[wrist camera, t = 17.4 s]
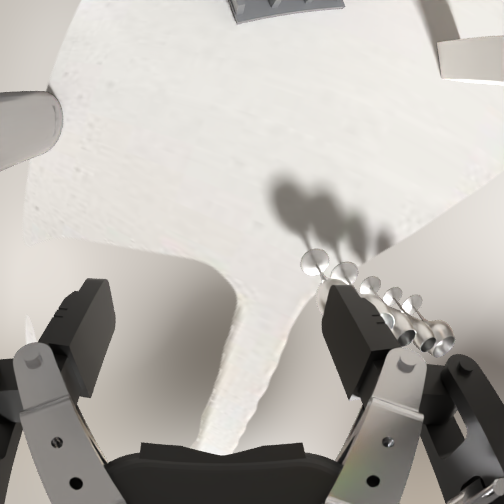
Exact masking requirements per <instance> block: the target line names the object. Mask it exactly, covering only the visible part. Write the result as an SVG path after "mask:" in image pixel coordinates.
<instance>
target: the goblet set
mask: <svg viewBox="0 0 504 504" xmlns="http://www.w3.org/2000/svg"><path fill="white" fill-rule="evenodd" d="M328 264H329V256H328V254H327V253H326V252H325V251H324V250H321V249H312V250H310V251H308V252H307V253H305V254H304V256H303V257H302V259H301V269H302V270H303V272H305V273H306V274H308V275H318V274H320V277H321V284H320V285H319V287H318V289H317V292H316V302H317V306H318V309H319V311H320V313H321V314H322V316H323V314H324V310H325V305H326V301H327V297H328V293H329V289H330V287H331V286H332V285H352V284H353V282H354V281H355V280H356V279H357V276H358V268H357V266H356V265H355V264H353V263H351V262H343V263H341V264H339V265H337V266H336V267H335V268H334V269H333V271H332V273H331V277H330V278H327V277H326V276H325V275H324V274H323V271H324V270H325V269H326V268H327V266H328ZM380 285H381V282H380V279H379V278H378V277H375V276H371V277H368V278H366V279H365V280H364V281H363V282H362V283H361V285H360V293H359V292H358V291H357V290H356V289H355V290H356V291H357V293H358V294H359V296H360V297H361V298H366V299H367V300H368V301H369V302H371V303H372V304H373V305H375V307H376V308H377V310H378V311H379V313H380V314H381V315H380V316H382V317H383V319H384V320H385V324H387V325H388V327H389V328H390V330H391V331H392V333H393V334H394V336H395V337H396V339H397V341H398V342H399V344H400V345H401V347H404V346H407V345H409V344H410V343H411V342H413V344H414V345H415V346H416V347H417V348H418V349H419V350H420V351H421V352H428V353H429V354H431V355H432V356H434V357H441V356H443V355H445V354H446V353H447V352H448V351H450V350H451V348H452V347H453V345H454V343H455V336H454V333H453V331H452V328H451V327H450V325H449V324H448V323H446V322H445V321H442V320H435V321H428V320H426V319H424V317H423V316H422V315H421V314H420V313H419V312H418V309H419V308H420V306H421V304H422V297H421V296H420V295H412V296H410V297H409V298H407V299H406V300H405V302H404V303H403V305H402V306H401V305H400V304H399V303H398V301H399V300H400V298H401V296H402V290H401V289H400V288H399V287H393V288H391V289H389V290H388V291H387V292H386V293H385V295H384V297H383V300H382V299H381V298H380V297H379V296H378V295H377V293H376V292H377V291H378V290H379V288H380ZM352 286H353V285H352ZM353 287H354V286H353ZM354 288H355V287H354ZM374 294H375V295H374ZM396 303H397V304H398V306H399V307H400V309H401V310H402V312H401V311H399V310H397V309H394V308H392V307H389V305H390V306H391V305H394V304H396ZM415 312H417V313H418V315H419V316H420V318H421V319H422V320H419V319H417V318H414V317H412V316H411V314H414V313H415Z"/></svg>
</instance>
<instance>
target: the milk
mask: <svg viewBox="0 0 504 504" xmlns="http://www.w3.org/2000/svg"><path fill="white" fill-rule="evenodd" d="M437 48H438V55H439V62H440V69H441V78H442V79H446V80H454V81H461V82H467V83H482V84H494V85H504V36H488V37H476V38H466V39H458V40H450V41H443V42H437Z"/></svg>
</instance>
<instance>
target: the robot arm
mask: <svg viewBox="0 0 504 504" xmlns="http://www.w3.org/2000/svg"><path fill="white" fill-rule="evenodd" d="M62 125H63V114H62V109H61V106H60V104H59V102H58V100H57V99H56V98H55V97H54V96H53V95H52V94H50V93H48V92H45V91H22V92H3V93H0V171H3V170H5V169H7V168H9V167H12V166H14V165H16V164H18V163H21V162H24V161H26V160H29V159H31V158H34V157H36V156H39V155H42V154H44V153H46V152H47V151H49V150H50V149H51V148H52V147H53V146H54V145H55V143H56V142H57V140H58V138H59V136H60V134H61V130H62ZM380 315H381V314H380V313H379V311H378V310H377V308H376V307H375V305H373V304H372V303H371V302H369V301H368V300H367V299H366V298H361V297H360V296H359V294H358V293H357V291H356V290H355V288H354V287H353V286H352V285H332V286H331V287H330V289H329V293H328V297H327V301H326V305H325V310H324V314H323V318H322V333H323V336H324V338H325V341H326V344H327V346H328V349H329V351H330V353H331V356H332V359H333V361H334V364H335V366H336V369H337V371H338V374H339V376H340V379H341V381H342V384H343V386H344V389H345V391H346V394H347V397H348V399H349V401H352V400H358V399H361V401H362V403H363V405H362V407H361V409H360V411H359V413H358V415H357V417H356V420H355V422H354V424H353V426H352V428H351V430H350V433H349V435H348V437H347V439H346V441H345V443H344V445H343V447H342V449H341V451H340V453H339V454H338V456H337V458H336V459H335V461H334V460H331V459H329V458H326V457H323V456H320V455H316V454H311V453H305V452H304V448H303V443H293V444H281V445H269V446H268V445H267V446H261V447H257V448H254V449H250V450H246V451H242V452H238V453H234V454H229V455H224V456H221V455H215V454H211V453H207V452H202V451H198V450H194V449H190V448H186V447H183V446H176V445H162V444H151V443H141V450H140V453H134V454H130V455H125V456H122V457H119V458H117V459H115V460H113V461H110V462H108V461H107V459H106V458H105V456H104V455H103V453H102V451H101V450H100V448H99V446H98V444H97V443H96V441H95V439H94V437H93V435H92V433H91V431H90V429H89V427H88V425H87V423H86V421H85V419H84V417H83V415H82V413H81V411H80V409H79V407H78V405H77V402H78V399H79V396H81V397H87V398H91V396H92V393H93V390H94V387H95V384H96V381H97V378H98V375H99V372H100V369H101V366H102V363H103V360H104V357H105V355H106V351H107V349H108V346H109V343H110V341H111V338H112V335H113V333H114V330H115V312H114V307H113V302H112V296H111V291H110V286H109V282H108V280H106V279H92V278H88V279H86V280H85V282H84V284H83V285H82V287H81V288H80V290H79V291H74V292H72V293H71V294H70V295H69V296H67V297H66V298H65V299H64V300H63V302H62V303H61V305H60V306H59V310H57V311H56V313H55V314H54V317H53V318H52V319H51V321H50V323H49V324H48V326H47V328H46V329H45V331H44V332H43V334H42V336H41V338H40V339H39V341H38V342H35V343H30V344H27V345H25V346H23V347H22V348H20V349H19V350H18V351H17V353H16V354H15V356H14V358H13V359H1V360H0V504H4V502H5V497H6V492H7V487H8V483H9V478H10V474H11V470H12V466H13V462H14V458H15V455H16V451H17V447H18V444H19V440H20V437H21V434H22V430H23V431H24V434H25V437H26V440H27V443H28V446H29V449H30V452H31V455H32V458H33V460H34V463H35V466H36V468H37V471H38V474H39V476H40V478H41V481H42V483H43V486H44V488H45V490H46V493H47V495H48V497H49V499H50V501H51V503H52V504H399V502H400V499H401V496H402V494H403V491H404V488H405V485H406V482H407V479H408V476H409V473H410V469H411V466H412V463H413V459H414V456H415V452H416V448H417V445H418V441H419V437H421V439H422V441H423V444H424V446H425V449H426V451H427V454H428V457H429V459H430V462H431V464H432V467H433V470H434V472H435V475H436V478H437V480H438V483H439V486H440V488H441V491H442V494H443V497H444V500H445V503H446V504H504V404H503V403H502V401H501V400H500V398H499V396H498V395H497V393H496V391H495V390H494V388H493V387H492V385H491V384H490V382H489V381H488V379H487V377H486V376H485V374H484V373H483V372H482V370H481V369H480V367H479V366H478V364H477V363H476V362H475V361H474V360H473V359H471V358H469V357H468V356H465V355H461V354H456V355H452V356H451V357H450V358H449V359H448V361H447V363H446V364H445V366H441V365H430V364H426V362H425V360H424V359H423V357H422V356H421V355H419V354H418V353H417V352H415V351H413V350H411V349H408V348H402V347H401V345H400V344H399V342H398V341H397V339H396V337H395V336H394V334H393V333H392V331H391V330H390V328H389V327H388V325H387V324H385V320H384V319H383V317H382V316H380ZM457 410H458V411H459V413H460V415H461V417H462V419H463V421H464V423H465V425H466V427H467V436H466V439H464V437H463V434H462V433H461V430H460V428H459V426H458V424H457V423H456V420H455V418H454V416H453V415H454V414H455V413H456V411H457Z"/></svg>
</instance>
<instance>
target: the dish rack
mask: <svg viewBox="0 0 504 504" xmlns="http://www.w3.org/2000/svg"><path fill="white" fill-rule="evenodd" d="M229 2H230V5H231V8H232V11H233V14H234V17H235V20H236V23H237V24H241V23H246V22H250V21H255V20H260V19H265V18H270V17H276V16H282V15H288V14H295V13H303V12H311V11H320V10H331V9H343V8H344V7H345V5H344V2H343V0H229Z"/></svg>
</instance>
